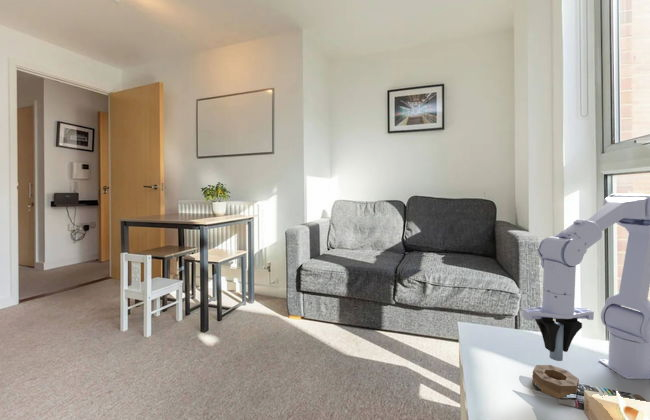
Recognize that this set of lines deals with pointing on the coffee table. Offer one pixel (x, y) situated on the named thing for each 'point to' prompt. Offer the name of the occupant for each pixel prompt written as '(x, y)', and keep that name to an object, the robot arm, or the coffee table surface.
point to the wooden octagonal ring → (555, 380)
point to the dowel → (558, 344)
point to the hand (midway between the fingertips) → (556, 349)
